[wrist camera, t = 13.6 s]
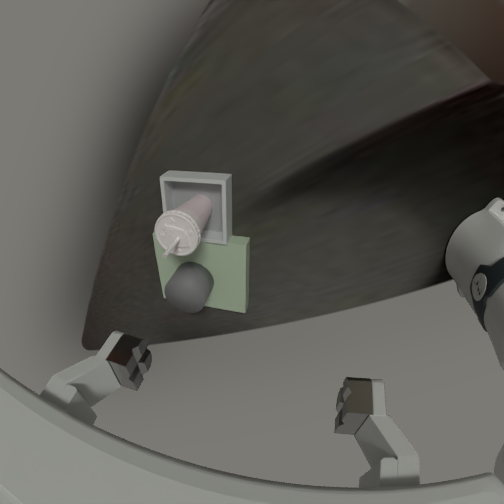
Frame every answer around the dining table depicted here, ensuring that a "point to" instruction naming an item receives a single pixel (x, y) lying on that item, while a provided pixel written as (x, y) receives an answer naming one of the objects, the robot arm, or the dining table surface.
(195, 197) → the smoothie
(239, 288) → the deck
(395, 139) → the dining table surface
